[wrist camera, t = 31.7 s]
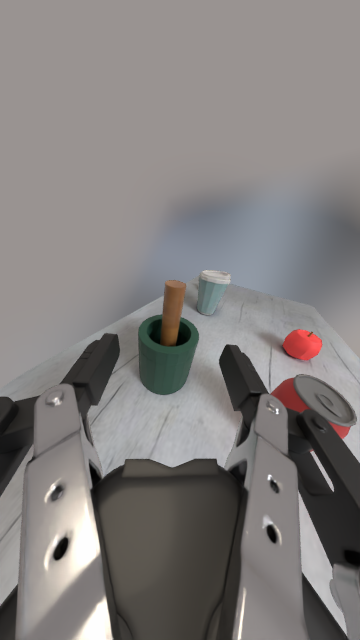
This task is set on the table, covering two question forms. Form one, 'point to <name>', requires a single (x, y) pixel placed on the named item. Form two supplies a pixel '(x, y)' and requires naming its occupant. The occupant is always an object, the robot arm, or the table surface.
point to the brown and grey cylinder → (172, 312)
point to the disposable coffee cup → (211, 290)
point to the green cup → (165, 356)
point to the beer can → (317, 401)
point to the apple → (302, 344)
